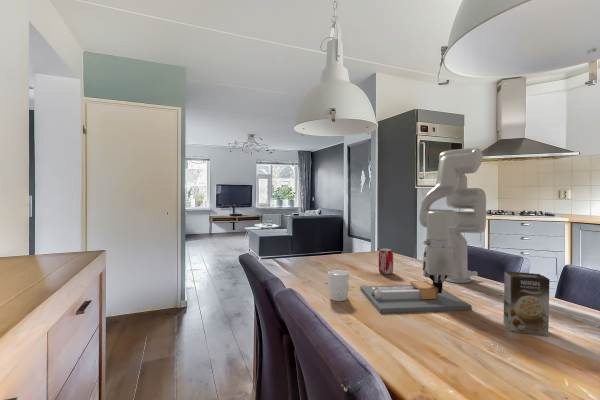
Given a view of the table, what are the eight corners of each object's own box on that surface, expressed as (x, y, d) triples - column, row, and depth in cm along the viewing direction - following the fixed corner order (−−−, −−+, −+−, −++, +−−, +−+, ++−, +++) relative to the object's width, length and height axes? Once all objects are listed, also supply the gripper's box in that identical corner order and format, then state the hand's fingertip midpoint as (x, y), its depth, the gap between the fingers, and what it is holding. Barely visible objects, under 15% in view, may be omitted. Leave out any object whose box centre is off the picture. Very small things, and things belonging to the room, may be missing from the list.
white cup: (324, 298, 111) (324, 272, 111) (336, 293, 117) (336, 268, 117) (341, 303, 106) (341, 276, 106) (353, 298, 112) (352, 272, 112)
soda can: (394, 274, 144) (394, 250, 144) (380, 274, 144) (380, 250, 144) (390, 271, 151) (390, 248, 151) (377, 271, 151) (377, 248, 151)
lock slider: (425, 290, 114) (425, 281, 114) (438, 298, 105) (438, 288, 105) (410, 291, 114) (410, 281, 114) (422, 299, 105) (422, 288, 105)
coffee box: (510, 332, 83) (510, 276, 83) (502, 322, 89) (503, 270, 89) (549, 337, 80) (550, 279, 80) (539, 327, 86) (539, 273, 86)
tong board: (434, 287, 123) (434, 277, 123) (471, 309, 99) (471, 297, 99) (360, 289, 121) (360, 279, 121) (380, 312, 97) (379, 300, 97)
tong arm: (422, 291, 113) (422, 285, 113) (426, 294, 110) (426, 287, 110) (370, 293, 111) (370, 287, 111) (372, 295, 109) (372, 289, 109)
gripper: (423, 245, 105) (423, 296, 106) (462, 245, 106) (462, 295, 107) (413, 242, 113) (413, 289, 113) (450, 241, 114) (450, 288, 114)
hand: (437, 292), depth 110 cm, fingers closed
